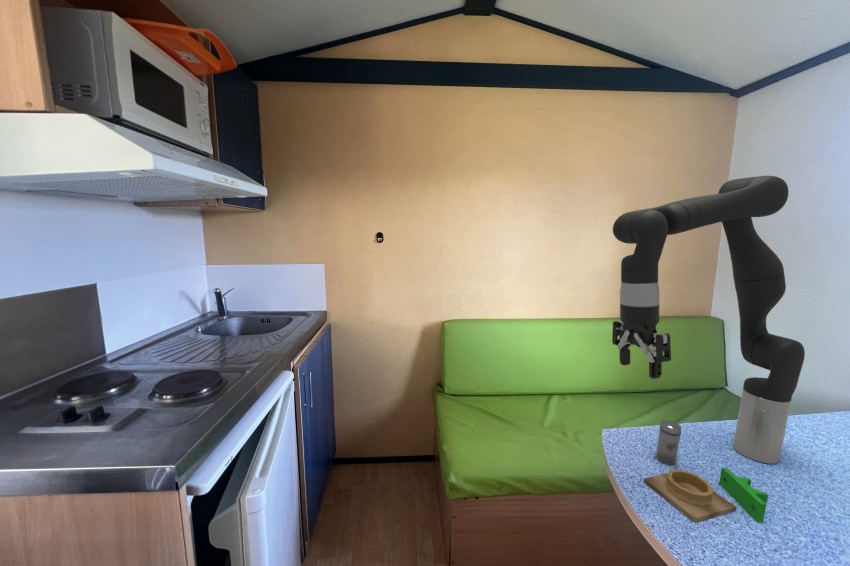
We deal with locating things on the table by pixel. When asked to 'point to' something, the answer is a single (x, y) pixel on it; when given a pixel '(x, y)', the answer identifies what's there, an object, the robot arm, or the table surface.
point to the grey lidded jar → (668, 442)
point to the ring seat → (690, 494)
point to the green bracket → (744, 494)
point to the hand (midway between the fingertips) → (639, 370)
